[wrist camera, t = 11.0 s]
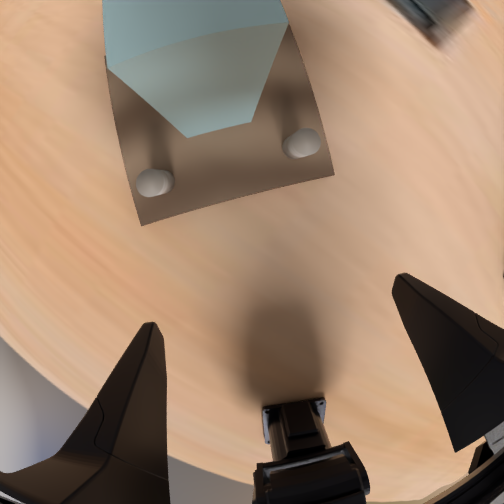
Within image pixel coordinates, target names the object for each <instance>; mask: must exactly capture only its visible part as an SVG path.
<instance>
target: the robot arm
mask: <svg viewBox="0 0 504 504" xmlns="http://www.w3.org/2000/svg"><path fill="white" fill-rule="evenodd" d="M392 296H393V299H394V301H395V304H396V306H397V309H398V311H399V314H400V317H401V319H402V322H403V325H404V327H405V329H406V331H407V334H408V336H409V338H410V340H411V342H412V344H413V346H414V348H415V350H416V353H417V355H418V357H419V359H420V361H421V364H422V366H423V368H424V371H425V373H426V375H427V378H428V380H429V382H430V385H431V387H432V390H433V392H434V395H435V397H436V400H437V402H438V405H439V408H440V410H441V413H442V416H443V419H444V422H445V424H446V427H447V430H448V433H449V436H450V439H451V442H452V445H453V449H454V451H455V453H456V452H458V451H459V450H461V449H463V448H465V447H466V446H468V445H470V444H471V443H473V442H475V441H476V440H478V439H479V438H481V437H482V436H484V437H485V439H486V441H484V442H483V443H482V444H481V445H479V446H478V447H477V448H476V450H475V453H474V456H473V459H472V462H471V465H470V468H469V471H468V473H469V475H468V476H466V477H465V478H464V479H462V480H461V481H460V482H458V483H456V484H455V485H453V486H452V487H450V488H449V489H447V490H446V491H444V492H442V493H441V494H439V495H437V496H436V497H434V498H432V499H431V500H429V501H427V502H425V503H424V504H504V329H502V328H500V327H499V326H497V325H495V324H493V323H491V322H490V321H488V320H486V319H485V318H483V317H481V316H480V315H478V314H477V313H474V312H473V311H472V310H470V309H468V308H467V307H465V306H463V305H462V304H460V303H458V302H457V301H455V300H453V299H452V298H450V297H448V296H447V295H445V294H443V293H441V292H440V291H438V290H436V289H434V288H433V287H431V286H429V285H427V284H426V283H424V282H422V281H420V280H419V279H417V278H415V277H413V276H411V275H410V274H408V273H401V274H398V275H397V276H396V277H395V281H394V284H393V288H392ZM320 402H321V403H320ZM325 408H326V400H325V398H317V399H312V400H306V401H300V402H294V403H287V404H280V405H272V406H265V407H263V409H262V413H263V425H264V437H265V443H266V444H270V445H271V451H272V457H273V462H267V463H257V470H255V472H254V473H253V477H254V492H253V500H252V504H366V498H365V495H368V494H369V493H370V483H369V479H368V475H367V472H366V470H365V467H364V465H363V464H362V462H361V460H360V459H359V457H358V455H357V454H356V452H355V451H354V449H353V447H352V446H351V444H350V442H349V441H348V442H345V443H343V444H341V445H338V446H335V447H331V444H330V442H329V439H328V436H327V433H326V431H325V428H324V425H323V423H324V416H325ZM267 410H269V411H267ZM0 491H2V492H3V493H5V494H7V495H9V496H11V497H12V498H14V499H16V500H19V501H20V502H21V503H18V502H15V501H12V500H10V499H7V498H5V497H2V496H0V504H170V493H169V481H168V461H167V373H166V361H165V348H164V338H163V335H162V333H161V332H160V330H159V328H158V326H157V324H156V323H155V322H146V323H144V324H143V325H142V326H141V328H140V329H139V331H138V332H137V334H136V335H135V337H134V338H133V340H132V341H131V343H130V344H129V346H128V347H127V349H126V351H125V352H124V354H123V355H122V357H121V358H120V360H119V361H118V363H117V365H116V366H115V368H114V369H113V371H112V372H111V374H110V376H109V377H108V379H107V380H106V382H105V384H104V385H103V387H102V388H101V390H100V392H99V393H98V395H97V397H96V398H95V400H94V401H93V403H92V405H91V406H90V408H89V410H88V411H87V413H86V414H85V416H84V417H83V419H82V420H81V422H80V423H79V424H78V426H77V427H76V429H75V430H74V431H73V433H72V434H71V435H70V437H69V438H68V439H67V441H66V442H65V444H64V445H63V446H62V448H61V449H60V450H59V451H58V452H57V453H56V454H55V455H54V456H52V457H50V458H48V459H46V460H44V461H41V462H39V463H37V464H34V465H32V466H29V467H27V468H24V469H22V470H19V471H16V472H13V473H3V472H1V471H0Z"/></svg>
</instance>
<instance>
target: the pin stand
mask: <svg viewBox="0 0 504 504" xmlns="http://www.w3.org/2000/svg"><path fill="white" fill-rule="evenodd" d="M105 64H106V71H107V78H108V85H109V92H110V98H111V103H112V109H113V114H114V120H115V125H116V130H117V135H118V139H119V144H120V148H121V153H122V157H123V161H124V165H125V169H126V173H127V177H128V181H129V185H130V189H131V192H132V196H133V200H134V203H135V207H136V210H137V214H138V217H139V220H140V224H141V226H144V225H147V224H150V223H153V222H156V221H159V220H163V219H166V218H169V217H172V216H176V215H179V214H183V213H186V212H189V211H193V210H196V209H200V208H203V207H207V206H210V205H214V204H217V203H221V202H225V201H228V200H232V199H236V198H240V197H244V196H247V195H251V194H255V193H259V192H263V191H267V190H271V189H275V188H279V187H284V186H288V185H292V184H296V183H301V182H305V181H310V180H314V179H319V178H323V177H328V176H333V175H335V174H334V169H333V165H332V161H331V157H330V152H329V148H328V144H327V140H326V137H325V133H324V129H323V125H322V122H321V118H320V114H319V111H318V107H317V104H316V101H315V97H314V94H313V91H312V88H311V84H310V81H309V78H308V75H307V72H306V69H305V66H304V63H303V60H302V57H301V55H300V52H299V49H298V46H297V44H296V41H295V38H294V36H293V33H292V30H291V28H290V25H289V24H288V26H287V29H286V31H285V34H284V36H283V38H282V41H281V43H280V46H279V49H278V51H277V54H276V56H275V59H274V61H273V64H272V66H271V69H270V72H269V74H268V77H267V80H266V82H265V85H264V88H263V90H262V93H261V96H260V99H259V101H258V104H257V107H256V110H255V112H254V115H253V118H252V121H251V122H249V123H244V124H240V125H235V126H231V127H227V128H223V129H219V130H215V131H211V132H207V133H204V134H200V135H197V136H193V137H190V138H186V137H185V136H184V135H183V134H182V133H181V132H180V131H179V130H178V129H176V128H175V127H174V126H173V125H172V124H171V123H170V122H169V121H168V120H167V119H165V118H164V117H163V116H162V115H161V114H160V113H159V112H158V111H156V110H155V109H154V108H153V107H152V106H151V105H150V104H149V103H147V102H146V101H145V100H144V99H143V98H142V97H141V96H140V95H138V94H137V93H136V92H135V91H134V90H133V89H131V88H130V87H129V86H128V85H127V84H126V83H124V82H123V81H122V80H121V79H120V78H119V77H117V76H116V75H115V74H114V73H113V72H112V71H110V70H109V69H108V68H107V60H106V56H105Z"/></svg>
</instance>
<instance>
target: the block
mask: <svg viewBox="0 0 504 504" xmlns="http://www.w3.org/2000/svg"><path fill="white" fill-rule="evenodd" d="M102 2H103V25H104V39H105V50H106V60H107V68H108V69H109V70H110V71H112V72H113V73H114V74H115V75H116V76H117V77H119V78H120V79H121V80H122V81H123V82H124V83H126V84H127V85H128V86H129V87H130V88H131V89H133V90H134V91H135V92H136V93H137V94H138V95H140V96H141V97H142V98H143V99H144V100H145V101H146V102H147V103H149V104H150V105H151V106H152V107H153V108H154V109H155V110H156V111H158V112H159V113H160V114H161V115H162V116H163V117H164V118H165V119H167V120H168V121H169V122H170V123H171V124H172V125H173V126H174V127H175V128H176V129H178V130H179V131H180V132H181V133H182V134H183V135H184V136H185V137H186V138H190V137H193V136H197V135H200V134H204V133H207V132H211V131H215V130H219V129H223V128H227V127H231V126H235V125H240V124H244V123H249V122H251V121H252V118H253V115H254V112H255V110H256V107H257V104H258V101H259V99H260V96H261V93H262V90H263V88H264V85H265V82H266V80H267V77H268V74H269V72H270V69H271V66H272V64H273V61H274V59H275V56H276V54H277V51H278V49H279V46H280V43H281V41H282V38H283V36H284V34H285V31H286V29H287V26H288V24H289V21H288V18H287V16H286V13H285V11H284V8H283V6H282V4H281V1H280V0H102Z"/></svg>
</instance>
